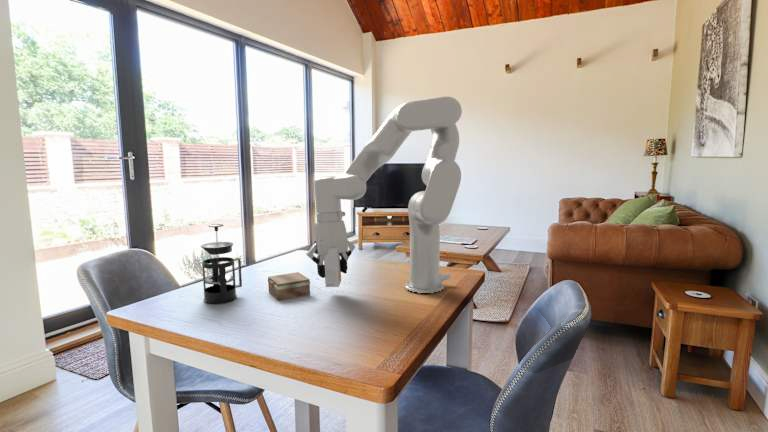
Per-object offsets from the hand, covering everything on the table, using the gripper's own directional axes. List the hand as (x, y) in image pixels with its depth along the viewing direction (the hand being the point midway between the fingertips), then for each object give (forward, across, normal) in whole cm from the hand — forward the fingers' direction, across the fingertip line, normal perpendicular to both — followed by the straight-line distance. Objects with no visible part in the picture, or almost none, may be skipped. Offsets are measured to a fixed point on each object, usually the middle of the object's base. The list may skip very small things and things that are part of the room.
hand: (333, 274), depth 131 cm
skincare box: (+3, 0, 0) cm, 3 cm away
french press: (+5, +30, -15) cm, 34 cm away
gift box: (+6, +11, -10) cm, 16 cm away
